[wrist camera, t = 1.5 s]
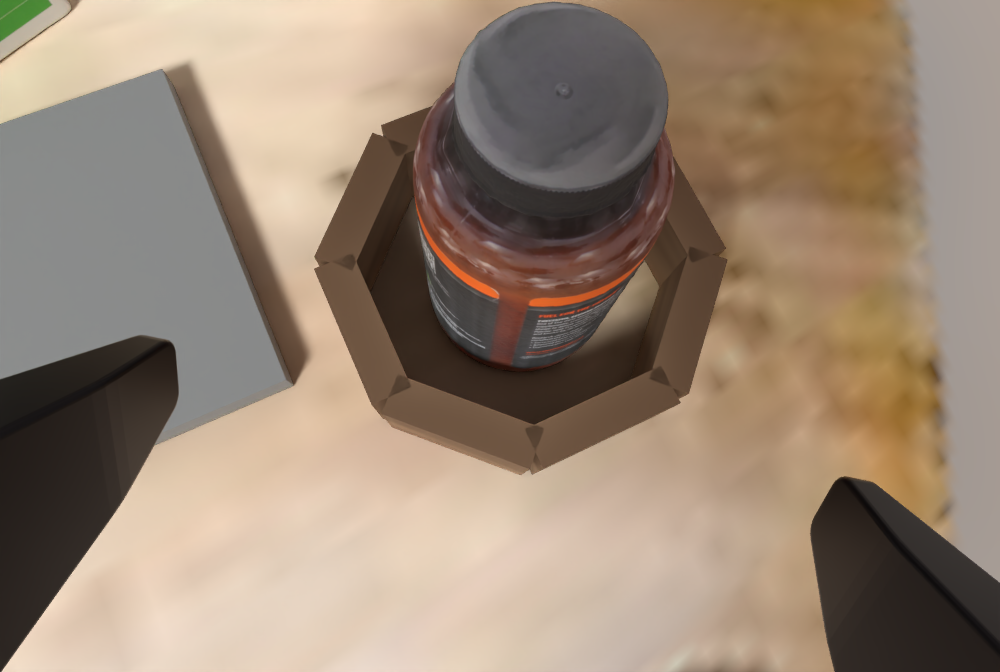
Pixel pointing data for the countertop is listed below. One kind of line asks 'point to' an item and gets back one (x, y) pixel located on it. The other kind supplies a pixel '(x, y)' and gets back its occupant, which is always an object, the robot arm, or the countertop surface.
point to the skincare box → (27, 20)
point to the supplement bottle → (541, 182)
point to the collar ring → (470, 426)
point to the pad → (127, 249)
